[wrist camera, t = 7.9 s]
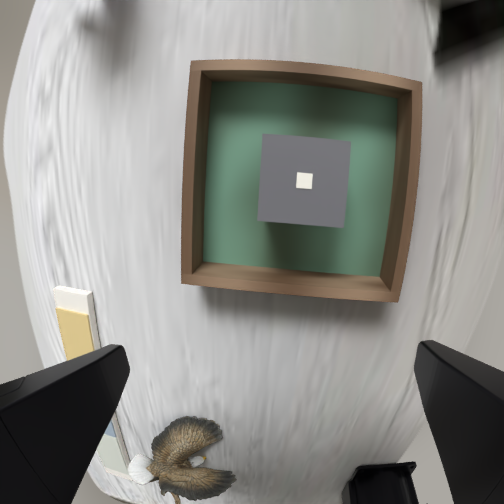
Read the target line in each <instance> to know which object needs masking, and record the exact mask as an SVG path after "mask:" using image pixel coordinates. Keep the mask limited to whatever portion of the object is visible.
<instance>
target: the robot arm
mask: <svg viewBox="0 0 504 504" xmlns="http://www.w3.org/2000/svg"><path fill="white" fill-rule="evenodd" d="M414 372H415V376H416V380H417V384H418V388H419V392H420V396H421V400H422V404H423V408H424V412H425V415H426V418H427V421H428V423H429V426H430V429H431V432H432V435H433V437H434V440H435V443H436V446H437V449H438V452H439V455H440V458H441V461H442V464H443V468H444V471H445V474H446V477H447V481H448V484H449V487H450V491H451V494H452V498H453V501H454V504H504V372H503V371H501V370H499V369H496V368H494V367H492V366H489V365H487V364H485V363H483V362H481V361H478V360H476V359H474V358H471V357H469V356H467V355H465V354H463V353H460V352H458V351H456V350H454V349H451V348H449V347H447V346H445V345H442V344H440V343H438V342H436V341H433V340H427V341H421V342H420V343H419V345H418V348H417V353H416V359H415V364H414ZM129 373H130V366H129V363H128V359H127V356H126V352H125V349H124V347H123V346H122V345H115V344H110V345H108V346H105V347H103V348H100V349H97V350H95V351H92V352H89V353H87V354H84V355H81V356H79V357H76V358H73V359H71V360H68V361H65V362H63V363H60V364H57V365H55V366H52V367H49V368H46V369H44V370H41V371H38V372H35V373H32V374H30V375H27V376H26V377H21V378H18V379H15V380H13V381H9V382H6V383H3V384H0V504H71V503H72V501H73V499H74V496H75V494H76V492H77V490H78V488H79V485H80V483H81V481H82V479H83V477H84V474H85V473H86V470H87V468H88V466H89V464H90V462H91V460H92V458H93V456H94V454H95V451H96V449H97V447H98V445H99V443H100V441H101V439H102V437H103V435H104V433H105V431H106V429H107V427H108V425H109V423H110V421H111V419H112V417H113V415H114V413H115V411H116V408H117V406H118V403H119V401H120V398H121V395H122V392H123V390H124V387H125V384H126V382H127V379H128V376H129ZM415 468H416V462H405V463H395V464H384V465H368V466H359V467H358V468H357V469H356V470H355V472H354V474H353V476H352V478H351V480H350V481H349V482H348V483H347V485H346V487H345V489H344V490H343V492H342V500H343V504H419V502H418V499H417V495H416V491H415V488H414V484H413V480H412V477H411V474H412V472H413V471H414V469H415Z"/></svg>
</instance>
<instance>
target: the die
mask: <svg viewBox="0 0 504 504" xmlns="http://www.w3.org/2000/svg"><path fill="white" fill-rule="evenodd" d="M350 152H351V141H342V140H334V139H325V138H315V137H304V136H292V135H278V134H262V149H261V166H260V183H259V200H258V216H257V221H266V222H278V223H291V224H302V225H314V226H325V227H336V228H344V221H345V211H346V201H347V191H348V179H349V166H350Z"/></svg>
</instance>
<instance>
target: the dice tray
mask: <svg viewBox="0 0 504 504" xmlns="http://www.w3.org/2000/svg"><path fill="white" fill-rule="evenodd" d="M421 132H422V82H419V81H415V80H410V79H406V78H402V77H397V76H393V75H388V74H383V73H377V72H372V71H366V70H360V69H354V68H347V67H340V66H332V65H324V64H315V63H304V62H292V61H276V60H241V59H230V60H196V61H191V65H190V76H189V87H188V98H187V111H186V125H185V141H184V160H183V184H182V223H181V284H189V285H198V286H207V287H216V288H225V289H235V290H245V291H255V292H265V293H276V294H287V295H299V296H311V297H324V298H337V299H351V300H365V301H381V302H398V301H399V296H400V292H401V287H402V282H403V278H404V273H405V267H406V262H407V257H408V251H409V245H410V239H411V233H412V226H413V219H414V212H415V204H416V196H417V187H418V176H419V165H420V151H421ZM262 134H278V135H292V136H304V137H315V138H325V139H334V140H342V141H351V152H350V166H349V179H348V191H347V201H346V211H345V221H344V228H336V227H325V226H314V225H302V224H291V223H278V222H266V221H257V216H258V200H259V183H260V166H261V149H262Z"/></svg>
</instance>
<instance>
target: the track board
mask: <svg viewBox="0 0 504 504" xmlns="http://www.w3.org/2000/svg"><path fill="white" fill-rule="evenodd" d="M53 292H54V298H55V304H56V313H57V318H58V323H59V328H60V333H61V337H62V342H63V346H64V350H65V354H66V358H67V361H68V360H71V359H73V358H76V357H79V356H81V355H84V354H87V353H89V352H92V351H95V350H97V349H100V348H101V347H100V341H99V335H98V329H97V323H96V317H95V310H94V302H93V294H92V292H91V291H86V290H80V289H75V288H70V287H64V286H57V287H55V288H54V289H53ZM96 450H97V452H98V455H99V457H100V459H101V462H102V464H103V466H104V467H105V470H106V472H107V473H110V474H113V475H116V476H119V477H122V478H125V479H128V480H131V481H133V480H132V478H131V477H130V476H129V473H128V471H127V469H128V467H129V463H130V460H129V457H128V454H127V451H126V448H125V445H124V441H123V438H122V435H121V431H120V428H119V424H118V421H117V417H116V413H114V415H113V417H112V419H111V421H110V423H109V425H108V427H107V429H106V431H105V433H104V435H103V437H102V439H101V441H100V443H99V445H98V447H97V449H96Z"/></svg>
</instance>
